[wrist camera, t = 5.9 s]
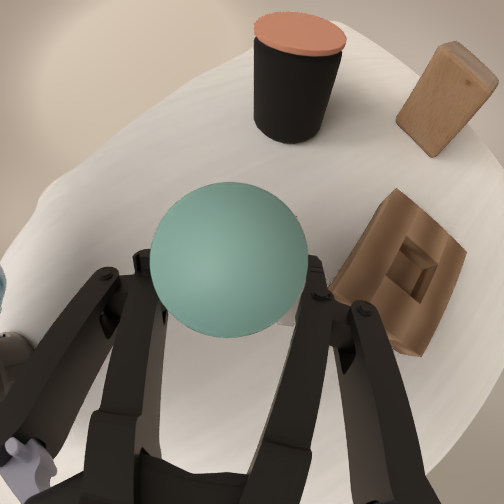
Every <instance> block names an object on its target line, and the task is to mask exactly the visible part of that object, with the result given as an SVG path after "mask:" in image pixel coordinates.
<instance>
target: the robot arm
mask: <svg viewBox="0 0 504 504" xmlns="http://www.w3.org/2000/svg"><path fill="white" fill-rule="evenodd" d="M295 217H296V218H297V216H295ZM150 251H151V249H144V250H141V251H138V252H137V253H135V254H134V255H133V262H134V268H135V274H133V275H121V276H119V271H118V270H117V269H116V268H114V267H103V268H101V269H99V270H97V271H96V272H95V273H94V274H93V275H92V276H91V277H90V279H89V280H88V281H87V282H86V283H85V284H84V286H83V287H82V288H81V289H80V290H79V292H78V293H77V294H76V295H75V296H74V298H73V299H72V300H71V301H70V303H69V304H68V305H67V306H66V308H65V309H64V310H63V312H62V313H61V314H60V316H59V317H58V318H57V319H56V321H55V322H54V323H53V325H52V326H51V327H50V329H49V330H48V332H47V333H46V334H45V336H44V337H43V339H42V340H41V341H40V343H39V344H38V346H37V347H36V349H35V350H33V348H32V347H31V345H30V344H29V343H28V341H27V340H26V339H25V338H24V337H22V336H21V335H19V334H17V333H8V332H5V333H0V474H1V476H2V477H3V479H4V480H5V482H6V483H7V485H8V486H9V488H10V489H11V490H12V492H13V493H14V495H15V496H16V497H17V499H18V500H19V501H20V502H21V504H299V503H300V500H301V497H302V493H303V490H304V486H305V483H306V479H307V476H308V472H309V468H310V464H311V459H312V451H311V449H310V446H311V441H312V437H313V432H314V428H315V423H316V419H317V414H318V409H319V404H320V398H321V393H322V388H323V382H324V376H325V370H326V363H327V357H328V350H329V345H330V346H333V349H334V355H335V361H336V367H337V373H338V379H339V386H340V392H341V399H342V407H343V414H344V422H345V430H346V439H347V448H348V458H349V470H350V483H351V492H352V499H353V503H354V504H441V503H440V501H439V499H438V497H437V495H436V494H435V492H434V490H433V488H432V487H431V485H430V483H429V481H428V480H427V478H426V476H425V471H424V465H423V460H422V455H421V450H420V445H419V441H418V436H417V432H416V428H415V424H414V420H413V416H412V412H411V408H410V405H409V401H408V397H407V394H406V391H405V387H404V384H403V381H402V377H401V374H400V371H399V368H398V365H397V362H396V359H395V356H394V353H393V350H392V347H391V344H390V341H389V339H388V336H387V333H386V330H385V328H384V325H383V322H382V320H381V317H380V315H379V312H378V310H377V308H376V307H375V306H374V305H373V304H372V303H370V302H368V301H364V300H356V301H354V302H353V303H352V304H351V306H349V305H346V304H343V303H340V302H338V301H336V300H335V299H334V295H333V294H332V292H331V291H330V290H328V288H327V284H326V279H325V275H324V270H323V266H322V262H321V260H320V259H319V258H318V257H317V256H313V255H308V269H307V275H306V279H305V282H304V285H303V288H302V290H301V292H300V294H299V296H298V298H297V300H296V301H295V303H294V304H293V306H292V307H291V308H290V309H289V310H288V312H287V313H286V314H285V315H284V316H282V317H281V318H280V319H279V320H278V321H277V324H278V325H288V326H293V325H294V322H295V321H296V326H295V329H294V332H293V336H292V339H291V342H290V347H289V350H288V354H287V357H286V361H285V364H284V367H283V371H282V374H281V377H280V381H279V384H278V387H277V390H276V393H275V397H274V400H273V403H272V406H271V409H270V412H269V415H268V418H267V421H266V424H265V427H264V430H263V432H262V435H261V438H260V441H259V444H258V446H257V449H256V452H255V455H254V457H253V460H252V462H251V465H250V467H249V470H248V472H247V474H238V473H230V472H222V473H205V474H193V473H189V472H187V471H185V470H183V469H181V468H179V467H176V466H174V465H172V464H170V463H168V462H167V461H165V460H163V459H162V457H161V449H160V444H159V422H160V400H161V384H162V371H163V359H164V348H165V338H166V329H167V321H168V310H167V308H166V307H165V306H164V305H163V303H162V302H161V300H160V298H159V296H158V295H157V292H156V290H155V287H154V285H153V281H152V277H151V271H150ZM5 290H6V277H5V273H4V271H3V269H2V267H1V265H0V313H1V309H2V308H1V304H2V300H3V297H4V293H5ZM113 344H114V345H113ZM112 346H113V349H112V353H111V357H110V361H109V366H108V370H107V375H106V380H105V384H104V389H103V395H102V400H101V405H100V408H99V410H96V411H94V412H93V413H92V415H91V418H90V423H89V429H88V436H87V443H86V451H85V460H84V471H82V472H80V473H78V474H76V475H74V476H73V477H71V478H69V479H67V480H65V481H63V482H61V483H59V484H57V485H55V486H53V487H50V479H51V477H53V476H55V475H56V474H57V468H56V466H55V464H54V461H53V459H54V458H55V457H56V456H57V454H58V453H59V451H60V450H61V448H62V446H63V444H64V442H65V440H66V438H67V436H68V434H69V432H70V430H71V427H72V425H73V423H74V421H75V419H76V416H77V414H78V412H79V410H80V408H81V406H82V404H83V402H84V400H85V398H86V396H87V394H88V391H89V389H90V387H91V386H92V384H93V382H94V380H95V378H96V376H97V374H98V372H99V370H100V368H101V366H102V364H103V362H104V361H105V359H106V357H107V355H108V353H109V351H110V350H111V348H112Z"/></svg>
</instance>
